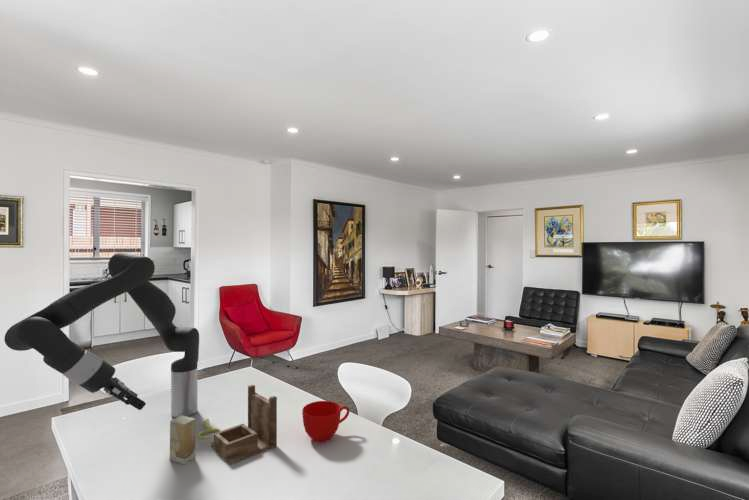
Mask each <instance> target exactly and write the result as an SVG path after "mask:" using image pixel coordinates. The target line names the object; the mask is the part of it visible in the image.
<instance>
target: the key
mask: <svg viewBox="0 0 749 500" xmlns="http://www.w3.org/2000/svg"><path fill="white" fill-rule="evenodd" d="M200 423H201V425H203V424H205V425H206V429H205V430H202V431H200V432H199V433H198V435H197V437H198V439H200V440H207V439H212V438H213V439H214V434H213V435H212V434H211V435H208V436H206V435H205V434H210V433H217V432H220V431H222V430H221V429H220V428H217V427H216V428H212V426H211V423H210V419H209V418H206V419H204V420H201V422H200ZM204 435H205V436H204Z"/></svg>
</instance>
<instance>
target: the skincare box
mask: <svg viewBox="0 0 749 500" xmlns="http://www.w3.org/2000/svg"><path fill="white" fill-rule="evenodd" d="M196 422H197V421H196V418H193V417H190V416H187V417H186V416H183V415H181V416H179V417H174V418H173V419H171V420H170V421H169V424H170V425H169V461H171V462H175V463H178V464H181V465H186V464H187V463H188V462H191V461H192V460H193V459H195V458H196V428H197V427H196Z"/></svg>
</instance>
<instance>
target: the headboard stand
mask: <svg viewBox="0 0 749 500" xmlns="http://www.w3.org/2000/svg"><path fill="white" fill-rule="evenodd" d="M277 401H278V396H276V395H274V396H272V395H271V396H270V397H268V398H266V397H265V396H263V395H261V394H259V393H258V392H256V385H254V384H250V385H248V386H247V425H246V424H245V423H240V424H238V425H235V426H232V427H229V428H226V429H224V430H221V431H220V432H213V435H214V437H213V442H211V443H210V447H211V448H212V450H214V451H215V452H216V453H217V454H218V455H219V456H220V457H222V458H223V459H224V460H225V461H226V462H227V463H228V464H229V465H233V464H236V463H238V462H241V461H243V460H246V459H248V458H251V457H253V456H256V455H257V454H261V453H263V452H265V451H268V450H270V449H272V448H275V447H278V445H277V444H278V441H277V440H278V431H277V430H278V428H277V427H278V426H277V425H278V422H277V421H278V417H277V415H278V411H277V409H278V406H277V405H278V403H277Z"/></svg>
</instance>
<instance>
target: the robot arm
mask: <svg viewBox="0 0 749 500" xmlns="http://www.w3.org/2000/svg"><path fill="white" fill-rule="evenodd" d="M155 267H156V266H155V263H154V261H153V259H151V258H150V257H148V256H145V255H142V254H137V253H132V252H126V251H125V252H123V251H121V252H117V253H115V254H113V255H112V256H111V257H110V259H109V260H108V264H107V268H108V273H109V275H110V276H111V277H109V278H107V279H105V280H104V279H103V280H102V281H98V282H94V283H91V284H87V285H85V286H82V287H78V288H76V289H74V290H72V291H70V292H68V293H66V294H65V295H63V296H61V297H60V298H58V299H56V300H55V301H53V302H51V303H50V304H49V305H47V306H46V307H44V308H43V309H41V310H39V311H37V312H35V313H33V314H32V315H30V316H29V315H28V317H26V318H23V319H21V320H19V322H16V323H15V324H12V326H10V327H9V328H8V329H7V330H6V332H5V335H4V343H5V345H6V346H7V348H9V349H11V350H13V351H17V352H18V351H21V352H22V351H23V352H24V351H29V350H32V349H34V350H35V351H36V352H37V353H39V354H40V355H41V356H43V358H42V359H43V362H44V363H45V364H46V365H47V366H48V367H50V368H51V369H53V370H55V371H57V372H58V373H60V374H61V375H63V376H64V377H65V378H67V379H68V380H69V381H71V382H73V383H74V384H76V385H78V386H79V387H81V388H83V390H86V391H88V392H90V393H91V394H93V393H98V392H99V391H100V390H101V389H103V391H104V392H105V393H106V394H107V395H109V396H112V397H113V398H114V399H116V401H117V400H118V401H121V402H122V403H124V404H125V405H126V406H127V405H128V406H129V405H130V406H132V407H133V408H135V409H137V410H138V411H142V410H143V409H144V407H145V406H146V405H147V404H146V402H145V400H143V399H141V398H140V397H138V393H136V392H134V391H133V390H132V389H130V388H129V387H128V386H127V385H125V382H123V381H121V379H119V378H118V377H114V375H115V373H116V368H115V366H112V365H111V364H110V363H108V362H106V360H104V359H102V358H100V357H99V356H97V355H96V354H94V353H93V352H91V351H88V350H86V349H85V348H83V347H82V346H81V345H78V344H77V343H75V342H74V341H72V340H71V339H70V338H69V337H68V336H67V334H65V332H63V330H62V329H63V328H65V327H68V326H69V325H71V324H73V323H75V322H77V321H78V320H80V319H81V318H83V317H84V316H86V315H87V314H89V313H90V312H91V311H93V310H94V309H96V308H99V306H101V305H103V304H105V303H107V302H109V301H111V300H112V299H115V298H117V297H119V296H121V295H124V294H125V293H127V294H128V295H129V297H130V298H131V299H132V300H133V301H134V303H135V304H136V305H137V307H138V308H139V309H140V310H141V312H142V313H143V314H144V316H145V317H146V319H148V321H149V322H150V323H151V324H152V326H153V327H154V329H155V330H156V331H157V332H158V334H159V336H160V337H161V340H162V343H164V346H165V347H166V348H167V350H168V351H171V352H176V353H184V356H183V357H182V358H178V359H177V360H174V361H173V362H171V365H170V384H171V385H170V394H171V395H170V401H171V402H170V404H171V405H170V407H171V408H170V414H171V417H173V418H177V417H179V416H181V415H183V416H186V417H190V416H192V415H194V414H196V413H197V412H198V361H199V354H200V353H199V352H200V351H199V350H200V349H199V348H200V333H199V330H198V328H196V327H178V326H176V325H175V323H173V321H174V320H175V315H176V312H177V311H176V310H177V309H176V306H175V304H174V303H173V300H172V299H171V298H170V296H168V294H167V293H166V292H165V291H163V290H162V289H161V288H160V287H158V286H156V285H155V284H154V283H152V282H151V281H150V280H151V279H152V278H153V275H154V274H155V270H156V269H155Z"/></svg>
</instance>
